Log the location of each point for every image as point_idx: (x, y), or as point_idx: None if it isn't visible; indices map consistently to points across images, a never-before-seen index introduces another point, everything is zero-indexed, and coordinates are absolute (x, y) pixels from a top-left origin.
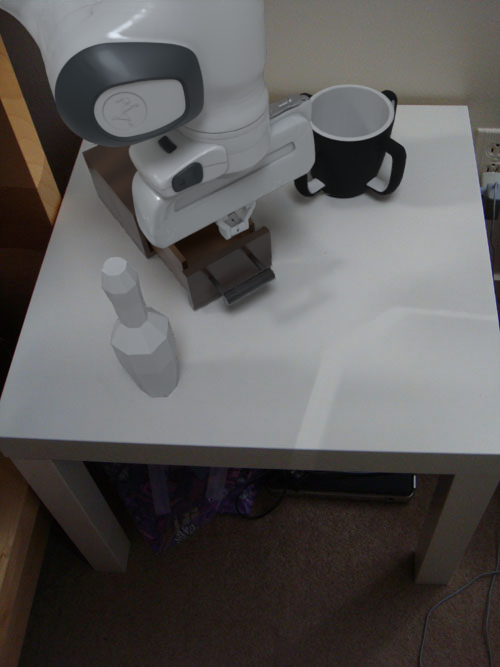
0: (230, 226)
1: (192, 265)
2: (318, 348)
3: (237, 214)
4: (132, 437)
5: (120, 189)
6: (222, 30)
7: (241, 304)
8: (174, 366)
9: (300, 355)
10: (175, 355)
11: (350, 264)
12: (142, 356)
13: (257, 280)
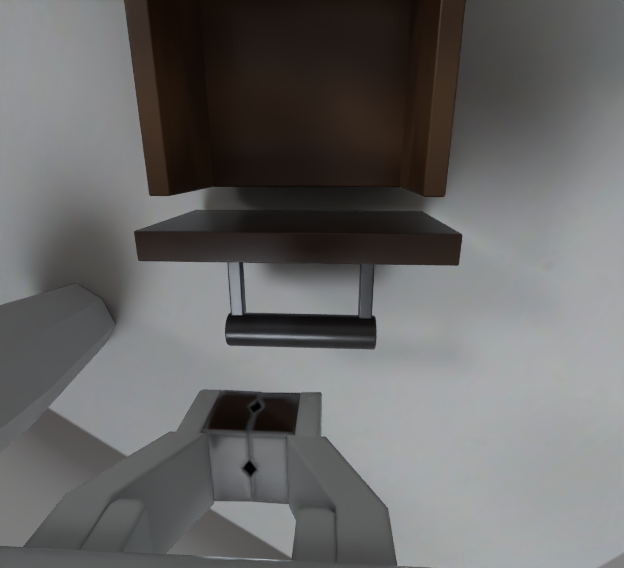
0: (216, 490)
1: (172, 233)
2: (360, 429)
3: (288, 460)
4: None
5: None
6: None
7: (300, 267)
8: (57, 396)
9: (325, 421)
10: (71, 372)
11: (561, 325)
12: None
13: (323, 344)
